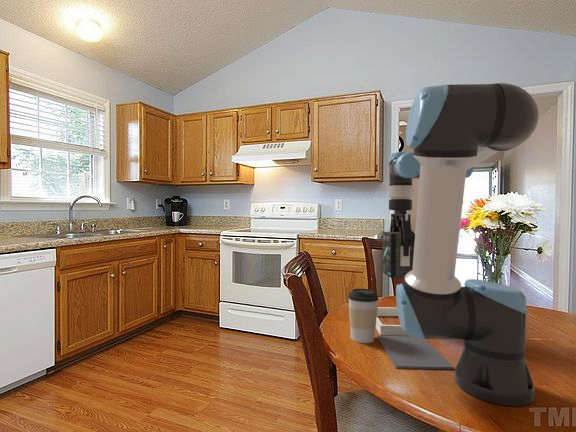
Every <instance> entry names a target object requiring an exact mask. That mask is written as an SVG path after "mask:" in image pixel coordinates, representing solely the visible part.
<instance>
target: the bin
mask: <svg viewBox="0 0 576 432" xmlns="http://www.w3.org/2000/svg"><path fill="white" fill-rule="evenodd" d="M379 317H399V315H398V309H397V307H390V306H388V307H387V306H386V307H383V306H382V307H379V306H377V318H376V327H375V330H377V332H378V334H379V336H408V335H406V334H405V333H404V331H403V330H402V327H401V324H383V323H382V321H381V320H380V318H379Z"/></svg>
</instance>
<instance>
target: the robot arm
mask: <svg viewBox="0 0 576 432" xmlns="http://www.w3.org/2000/svg"><path fill="white" fill-rule="evenodd" d="M410 106H411V107H410V109H409V114H408V118H407V121H406V129H405V130H406V131H405V135H406V136H405V144H406V146H407V148H409V149H411V150H412V149H413V151H398V152H393V153H391V154H390V156H389V162H388V167H389V170H388V171H389V177H388V180H389V182H388V183H389V185H388V198H390V199H388V210H390V211H393V213H391V214H390V223H389V232H400V233H401V243H400V246H401V256H400V266H410V245H412V244H413V241H412V233H413V232H412V224H411V216H412V215H411V214H410V213H409V214H408V213H407V211H412V209H413V200H412V199H411V198H412V197H413V192H414V191H415V189H413V179H419V181H418V193H417V204H416V205H417V207H416V216H415V217H416V221H415V229H414V230H415V232H414V233H415V243H414V255H413V268H412V271H410V272H408V273H407V274H406V275H405V278H404V281H403V282H404V283H399V284H396V286H395V287H396V288H395V300H396V308H397V309H398V315H399V316H398V321H399V325H401V327H402V330H403V331H404V333H405V334H406V335H408V336H411V337H421V338H423V339H438V340H439V339H441V340H454V341H456V340H457V341H463V349H462V351H461V354H460V357H458V358H459V359H458V361H457V363H456V366H455V369H454V382H455V383H456V385H457V386H458V387H459V388H460V389H461V390H463V391H464V392H466V393H467V394H469V395H471V396H472V397H475V398H478V399H479V400H482V401H485V402H489V403H491V404H495V405H501V406H505V407H506V406H508V407H522V406H528V405H530V404H532V403H533V402H534V401H535V391H536V390H535V385H534V382H533V377H532V376H531V373H530V370H529V368H528V367H529V366H528V364H527V361H526V344H527V343H526V341H527V314H528V309H527V308H528V307H527V298H526V295H525V294H524V293H523V292H522V291H521V290H519V289H517V288H515V287H512V286H509V285H505V284H502V283H498V282H494V281H493V282H492V281H487V280H483V279H475V278H473V279H469V278H468V279H466V280H465V282H464V286H462V282H461V281H460V280H459V279H458V277H456V276H455V275H456V274H455V273H456V265H457V257H458V246H459V239H460V228H461V223H462V222H461V221H462V212H463V204H464V203H463V202H464V194H465V184H466V179H467V178H470V177H471V175H472V173H473V172H474V168H475V166H476V165H478V164H480V163H482V162H483V161H485V160H487V159H488V158H490V157H492V156H493V155H495V154H497V153H499V152H508V151H511V150H513V149H514V148H517V147H518V146H520V145H522V144H523V143H524V142H526V141H527V140H528V139H529V138H530V137H531V136H532V134H533V133H534V132H535V130H536V127H537V125H538V122H539V117H540V116H539V115H540V114H539V108H538V105H537V102H536V100H535V99H534V97H533V96H532V95H531V94H530V93H529V92H528V91H527V90H526V89H524V88H522V87H520V86H519V85H514V84H512V83H506V82H501V83H499V82H498V83H497V82H495V83H478V84H477V83H474V84H472V83H470V84H469V83H468V84H467V83H465V84H442V85H436V86H435V85H434V86H433V85H432V86H426V87H423V88H422V89H421V90H419V91H418V92H417V94H416V95H415V97H414V99H413V101H412V104H411V105H410Z"/></svg>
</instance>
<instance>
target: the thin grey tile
mask: <svg viewBox="0 0 576 432" xmlns="http://www.w3.org/2000/svg"><path fill="white" fill-rule="evenodd" d="M376 338H377V340H378V341H379V343H380V344H381V346H382V348H383V350H384V352H386V354H387V356H388V358H389V359H390V361H391V363H392V364H393V365H394V367H395V369H406V370H407V369H410V370H412V369H414V370H417V369H418V370H447V371H448V370H449V371H450V370H454V366H453V365H452V364H451V363H450V362H449V361H448V360H447V359H446V358H445V357H444V356H443V355H442V354H441V353H440V352H439V351H438V350H437V349H436V348H435V347H434V345H432V344H431V342H429V341H428V340H427V338H425V339H423V338H421V337H411V336H395V335H377V336H376Z"/></svg>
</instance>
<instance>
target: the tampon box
mask: <svg viewBox="0 0 576 432" xmlns="http://www.w3.org/2000/svg"><path fill="white" fill-rule="evenodd" d="M381 241H382V243H381V245H382V246H381V247H382V252H381V253H382V254H381V255H382V256H381V258H382V259H381V273H383V274H384V275H386V276H388V277H389V278H391V279H392V278H399V279H405V275H406V274H407V273H408V272H410V271H412V268H413V255H414V243H415V232H412V241H413V244H412V245H410V266H400V256H401V246H400V243H401V233H400V232H390V231H382V240H381Z"/></svg>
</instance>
